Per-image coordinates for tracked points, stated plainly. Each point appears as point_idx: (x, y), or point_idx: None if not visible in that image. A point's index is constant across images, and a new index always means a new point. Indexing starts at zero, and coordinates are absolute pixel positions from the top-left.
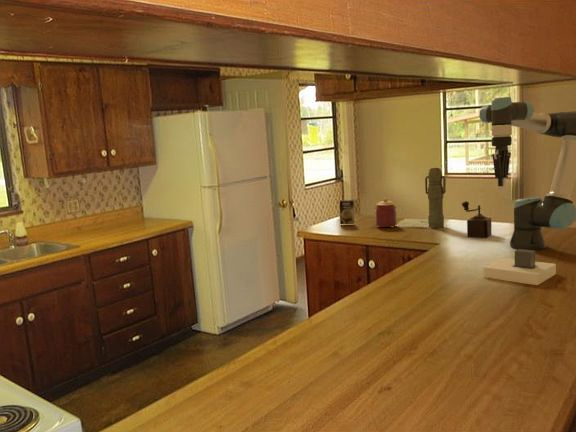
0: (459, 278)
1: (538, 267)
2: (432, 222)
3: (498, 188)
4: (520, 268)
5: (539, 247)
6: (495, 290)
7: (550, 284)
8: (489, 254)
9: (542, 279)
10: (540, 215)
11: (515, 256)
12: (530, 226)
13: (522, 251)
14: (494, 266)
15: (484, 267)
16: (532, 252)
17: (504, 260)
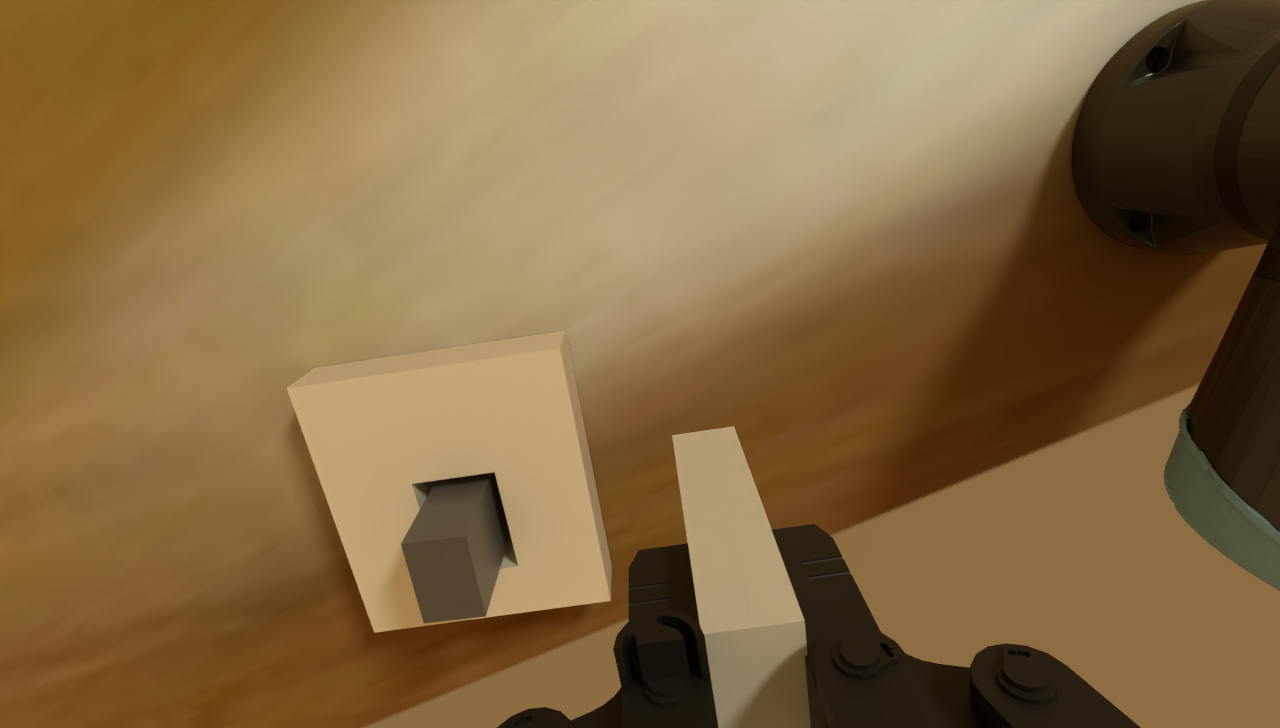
0: (194, 290)
1: None
2: None
3: (682, 495)
4: None
5: (1134, 246)
6: (186, 524)
7: None
8: (822, 58)
9: None
10: (1270, 371)
11: (413, 527)
12: (1259, 211)
13: (417, 581)
14: (344, 423)
15: (290, 393)
16: (447, 618)
17: (503, 388)
